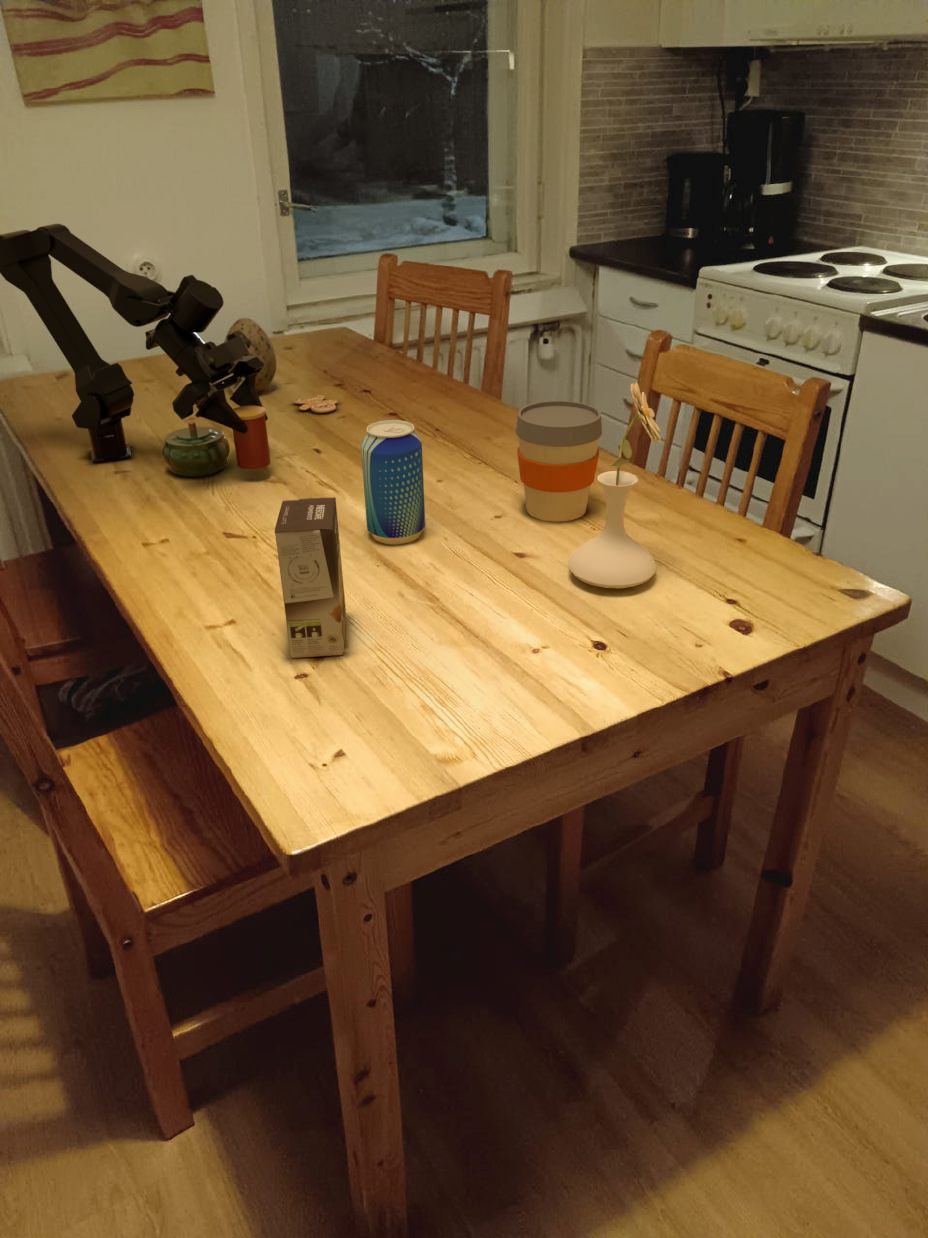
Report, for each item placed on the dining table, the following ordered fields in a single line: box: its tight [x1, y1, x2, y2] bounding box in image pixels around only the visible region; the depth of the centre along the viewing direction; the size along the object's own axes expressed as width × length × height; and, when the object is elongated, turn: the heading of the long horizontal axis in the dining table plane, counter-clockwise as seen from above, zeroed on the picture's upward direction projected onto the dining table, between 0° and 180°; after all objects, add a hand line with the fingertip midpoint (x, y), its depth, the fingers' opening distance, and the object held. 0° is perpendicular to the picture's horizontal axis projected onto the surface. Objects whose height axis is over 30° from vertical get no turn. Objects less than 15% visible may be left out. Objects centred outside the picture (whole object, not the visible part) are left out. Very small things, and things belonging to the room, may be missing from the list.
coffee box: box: [274, 496, 347, 659], centre depth 110 cm, size 9×6×16 cm
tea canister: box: [231, 405, 272, 471], centre depth 156 cm, size 6×6×9 cm
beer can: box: [360, 419, 426, 545], centre depth 135 cm, size 8×8×16 cm
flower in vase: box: [567, 381, 662, 589], centre depth 121 cm, size 13×11×25 cm
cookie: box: [293, 395, 338, 414], centre depth 191 cm, size 8×1×10 cm
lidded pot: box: [162, 421, 231, 478], centre depth 161 cm, size 11×11×8 cm
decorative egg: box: [223, 317, 277, 393], centre depth 197 cm, size 11×11×15 cm
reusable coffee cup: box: [515, 400, 603, 523], centre depth 142 cm, size 13×12×15 cm
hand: (256, 426), depth 154 cm, fingers closed on tea canister, 5 cm apart
